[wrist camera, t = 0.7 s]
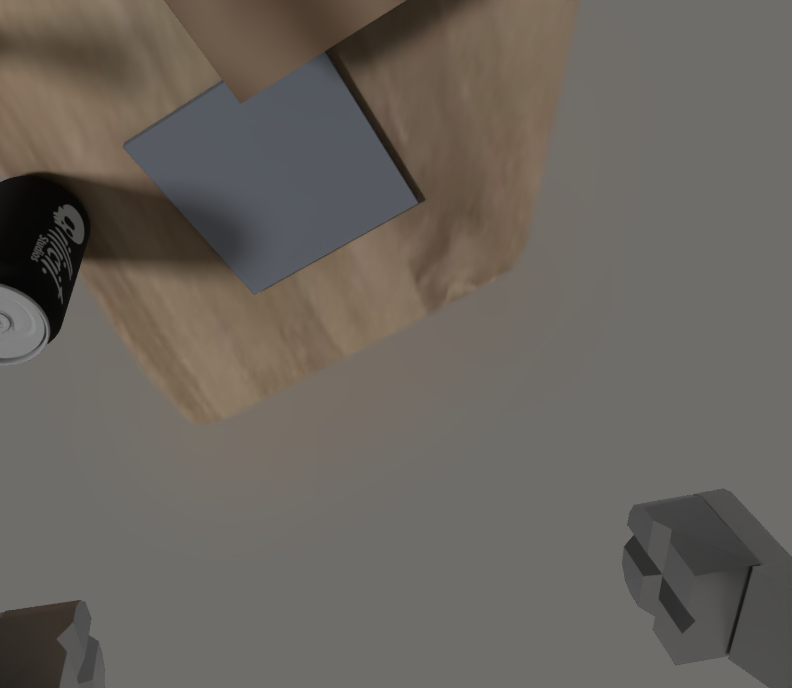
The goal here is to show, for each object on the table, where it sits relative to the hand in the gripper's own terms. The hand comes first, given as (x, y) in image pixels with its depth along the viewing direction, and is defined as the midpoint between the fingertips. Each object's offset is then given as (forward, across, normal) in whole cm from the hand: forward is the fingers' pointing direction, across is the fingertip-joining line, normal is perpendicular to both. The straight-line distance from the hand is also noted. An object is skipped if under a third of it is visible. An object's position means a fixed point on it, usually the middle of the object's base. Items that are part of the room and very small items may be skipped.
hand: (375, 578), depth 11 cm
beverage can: (+45, +15, +8) cm, 48 cm away
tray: (+43, -1, +6) cm, 43 cm away
